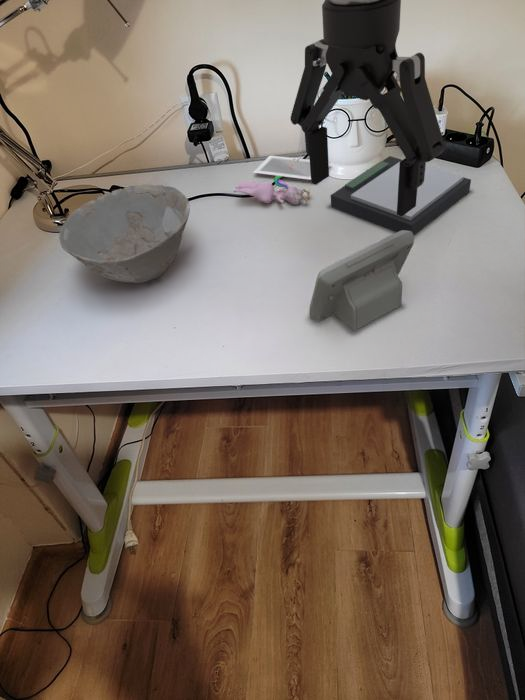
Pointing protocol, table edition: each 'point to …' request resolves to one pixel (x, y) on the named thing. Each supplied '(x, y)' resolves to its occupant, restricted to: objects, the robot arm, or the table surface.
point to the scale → (382, 195)
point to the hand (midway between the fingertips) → (360, 194)
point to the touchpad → (285, 167)
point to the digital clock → (363, 283)
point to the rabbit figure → (272, 191)
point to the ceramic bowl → (128, 232)
